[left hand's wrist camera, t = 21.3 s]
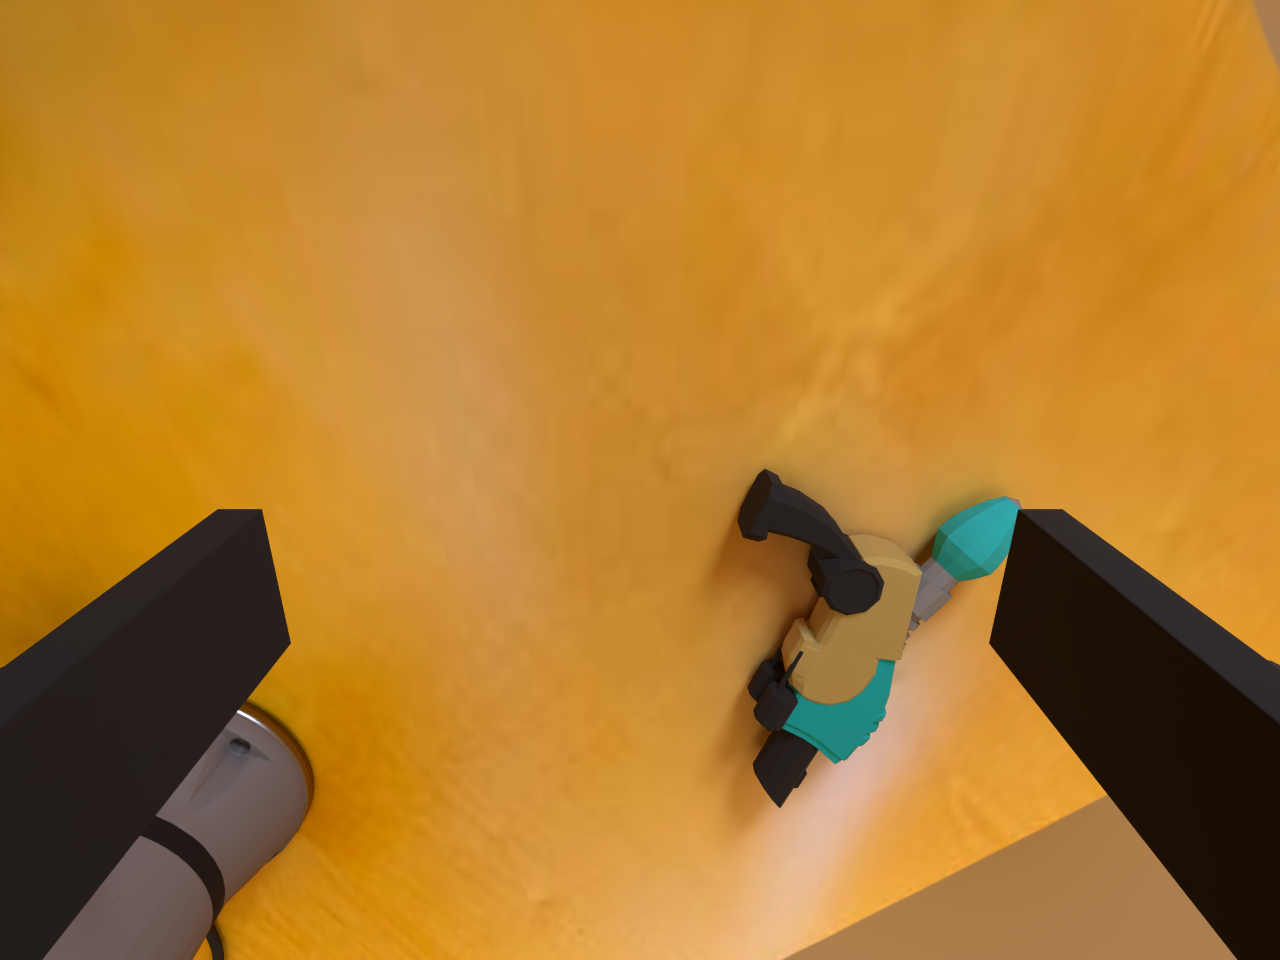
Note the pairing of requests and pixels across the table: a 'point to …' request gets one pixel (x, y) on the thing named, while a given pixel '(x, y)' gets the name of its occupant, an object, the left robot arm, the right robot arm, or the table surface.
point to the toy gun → (852, 622)
